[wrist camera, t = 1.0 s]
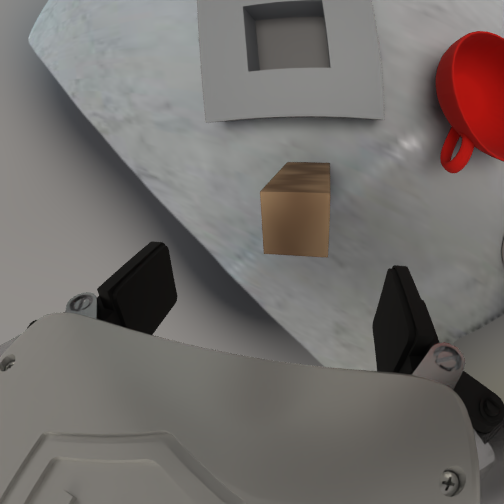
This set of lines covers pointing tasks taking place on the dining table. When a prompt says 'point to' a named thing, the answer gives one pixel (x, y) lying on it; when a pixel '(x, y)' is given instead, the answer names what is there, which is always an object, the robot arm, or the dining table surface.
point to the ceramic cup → (472, 97)
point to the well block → (289, 59)
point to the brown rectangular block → (297, 210)
